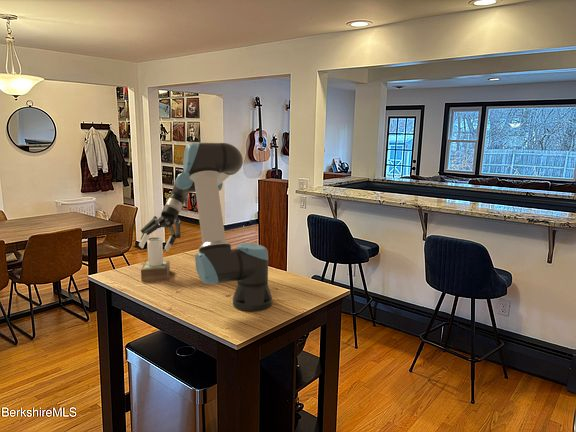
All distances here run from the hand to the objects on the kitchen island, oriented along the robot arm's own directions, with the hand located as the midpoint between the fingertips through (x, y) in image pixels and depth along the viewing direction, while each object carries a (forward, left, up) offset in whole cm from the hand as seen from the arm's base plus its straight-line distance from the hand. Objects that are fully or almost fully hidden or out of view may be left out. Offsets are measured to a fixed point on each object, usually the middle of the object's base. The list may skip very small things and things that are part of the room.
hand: (153, 248), depth 187 cm
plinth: (+1, -1, -13) cm, 13 cm away
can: (+1, -1, -8) cm, 8 cm away
